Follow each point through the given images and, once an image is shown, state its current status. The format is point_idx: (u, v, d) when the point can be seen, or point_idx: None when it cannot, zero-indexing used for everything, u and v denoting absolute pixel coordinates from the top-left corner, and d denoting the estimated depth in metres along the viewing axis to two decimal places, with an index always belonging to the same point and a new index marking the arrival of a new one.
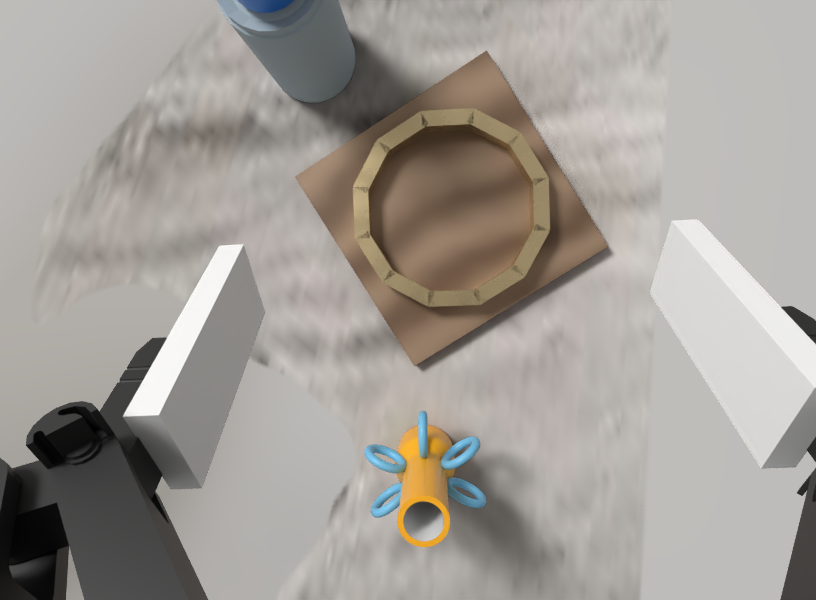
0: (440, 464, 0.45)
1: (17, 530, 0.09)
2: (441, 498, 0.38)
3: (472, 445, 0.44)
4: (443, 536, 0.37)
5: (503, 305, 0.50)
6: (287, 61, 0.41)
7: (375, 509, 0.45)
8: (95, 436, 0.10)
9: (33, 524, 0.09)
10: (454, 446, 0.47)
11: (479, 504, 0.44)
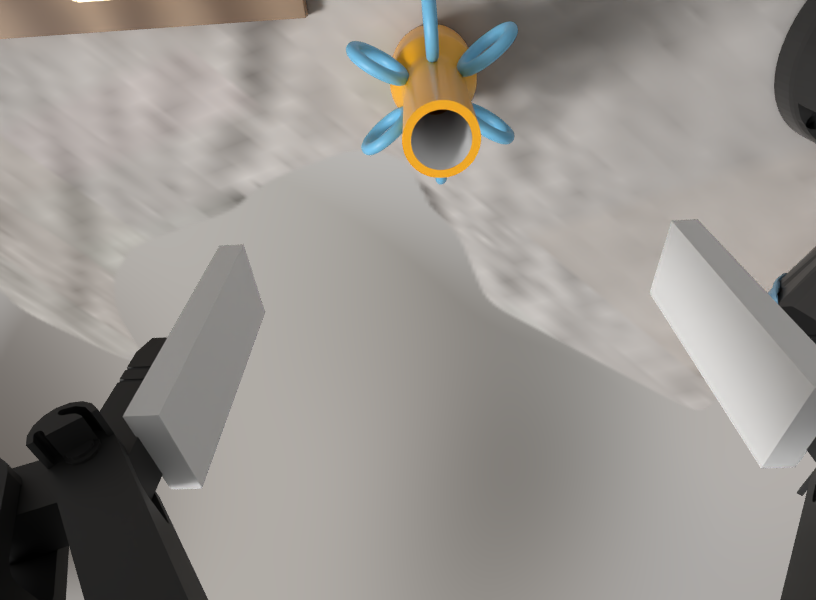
0: (426, 63, 0.30)
1: (17, 529, 0.09)
2: (429, 97, 0.24)
3: None
4: (477, 125, 0.24)
5: None
6: None
7: (435, 177, 0.34)
8: (95, 436, 0.10)
9: (33, 524, 0.09)
10: None
11: (506, 38, 0.28)
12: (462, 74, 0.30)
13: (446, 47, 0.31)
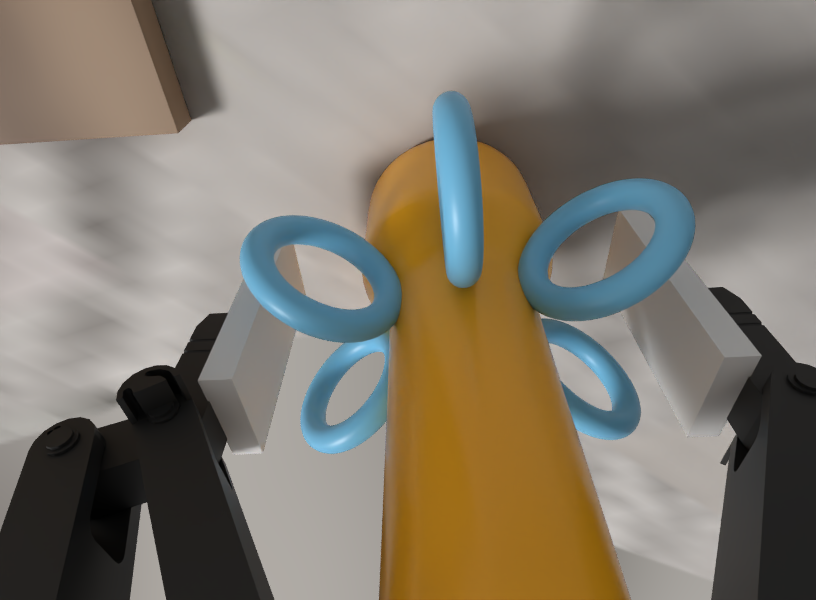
0: (447, 286, 0.12)
1: (104, 484, 0.10)
2: None
3: (439, 151, 0.09)
4: None
5: None
6: None
7: None
8: (175, 399, 0.10)
9: (119, 478, 0.10)
10: (440, 180, 0.12)
11: (675, 253, 0.10)
12: (537, 310, 0.12)
13: (491, 223, 0.13)
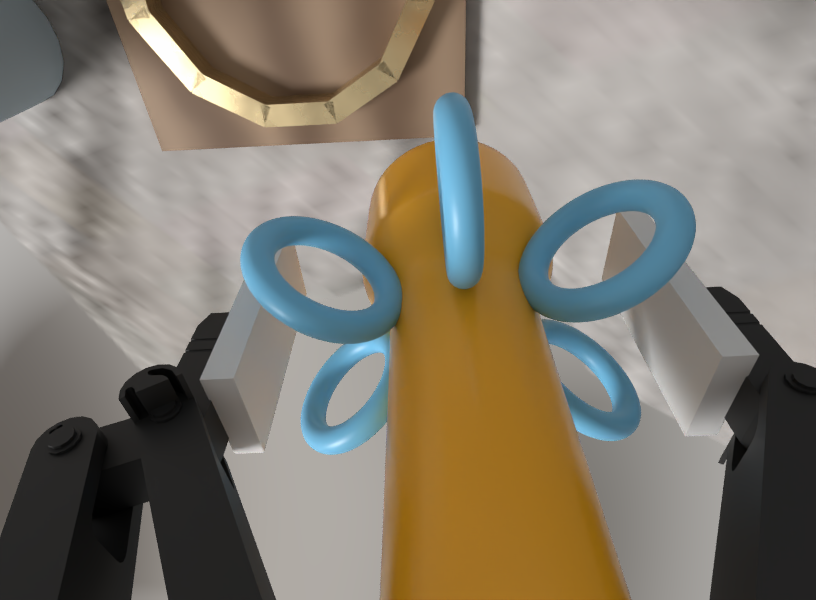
0: (448, 287, 0.12)
1: (106, 483, 0.10)
2: None
3: (440, 153, 0.09)
4: None
5: None
6: None
7: None
8: (177, 398, 0.10)
9: (121, 478, 0.10)
10: (440, 181, 0.12)
11: (675, 254, 0.10)
12: (537, 311, 0.12)
13: (492, 224, 0.13)
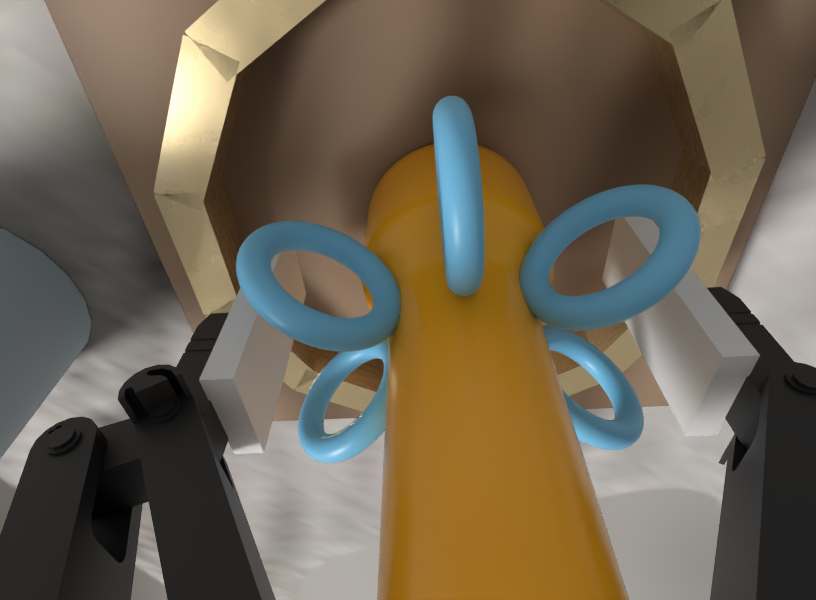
0: (447, 294, 0.11)
1: (105, 483, 0.10)
2: None
3: (440, 158, 0.09)
4: None
5: (745, 211, 0.18)
6: None
7: None
8: (177, 398, 0.10)
9: (120, 478, 0.10)
10: (440, 186, 0.12)
11: (680, 262, 0.10)
12: (539, 319, 0.12)
13: (492, 229, 0.13)
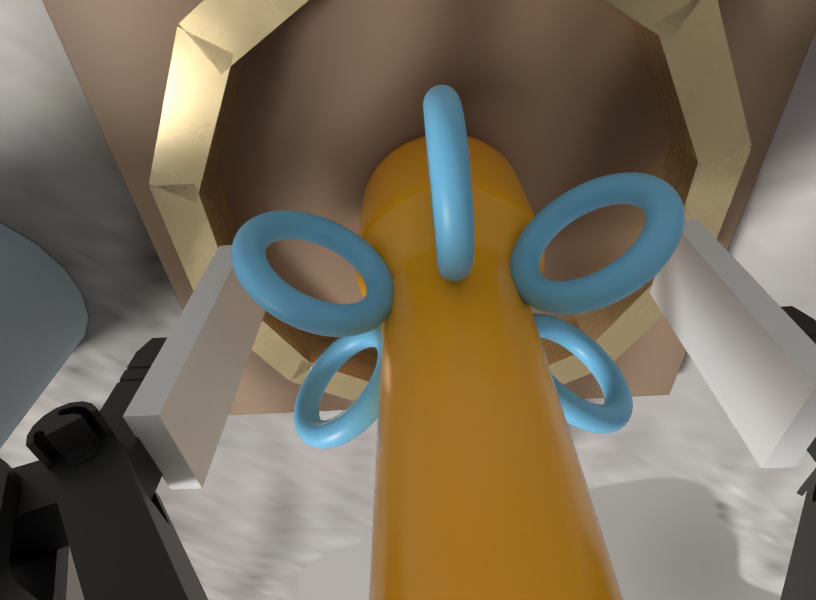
0: (439, 280, 0.12)
1: (17, 530, 0.09)
2: None
3: (429, 144, 0.09)
4: None
5: (733, 201, 0.19)
6: None
7: None
8: (95, 436, 0.10)
9: (34, 524, 0.09)
10: None
11: (664, 246, 0.10)
12: (528, 304, 0.12)
13: (483, 217, 0.13)
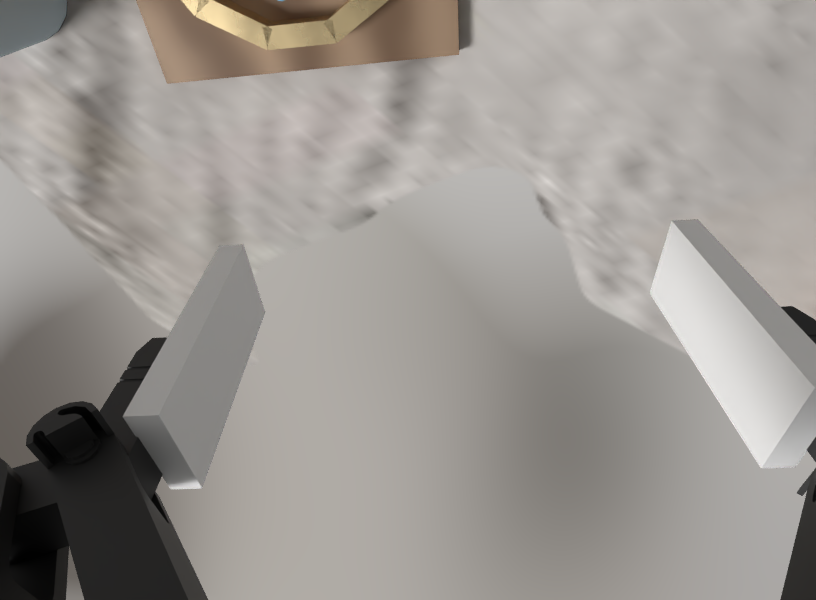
0: None
1: (17, 530, 0.09)
2: None
3: None
4: None
5: None
6: None
7: None
8: (95, 436, 0.10)
9: (33, 524, 0.09)
10: None
11: None
12: None
13: None
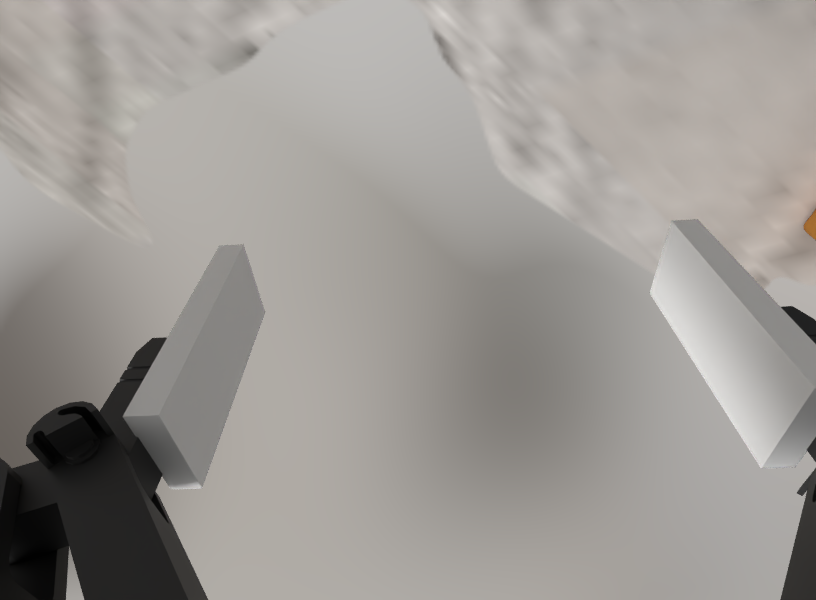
0: None
1: (17, 530, 0.09)
2: None
3: None
4: None
5: None
6: None
7: None
8: (95, 436, 0.10)
9: (33, 524, 0.09)
10: None
11: None
12: None
13: None
